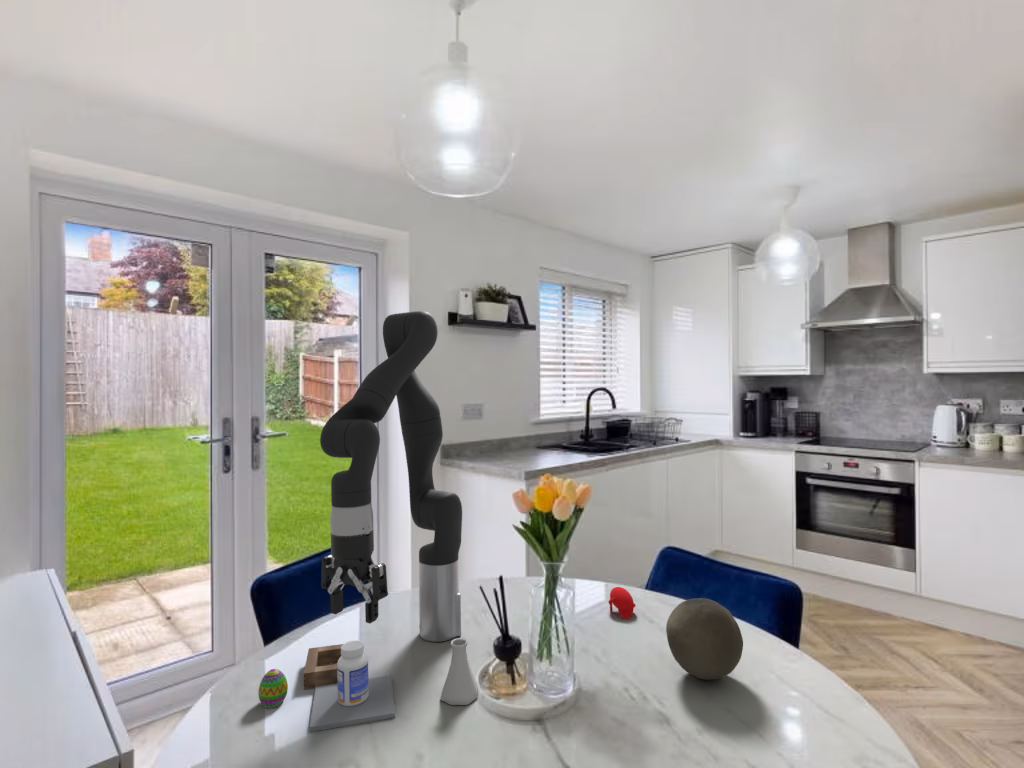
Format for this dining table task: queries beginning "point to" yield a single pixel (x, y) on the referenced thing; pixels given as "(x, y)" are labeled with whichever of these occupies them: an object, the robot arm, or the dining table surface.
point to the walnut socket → (322, 673)
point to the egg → (273, 688)
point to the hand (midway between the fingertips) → (354, 617)
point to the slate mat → (337, 715)
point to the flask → (459, 677)
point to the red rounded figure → (622, 602)
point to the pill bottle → (352, 674)
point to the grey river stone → (704, 638)
